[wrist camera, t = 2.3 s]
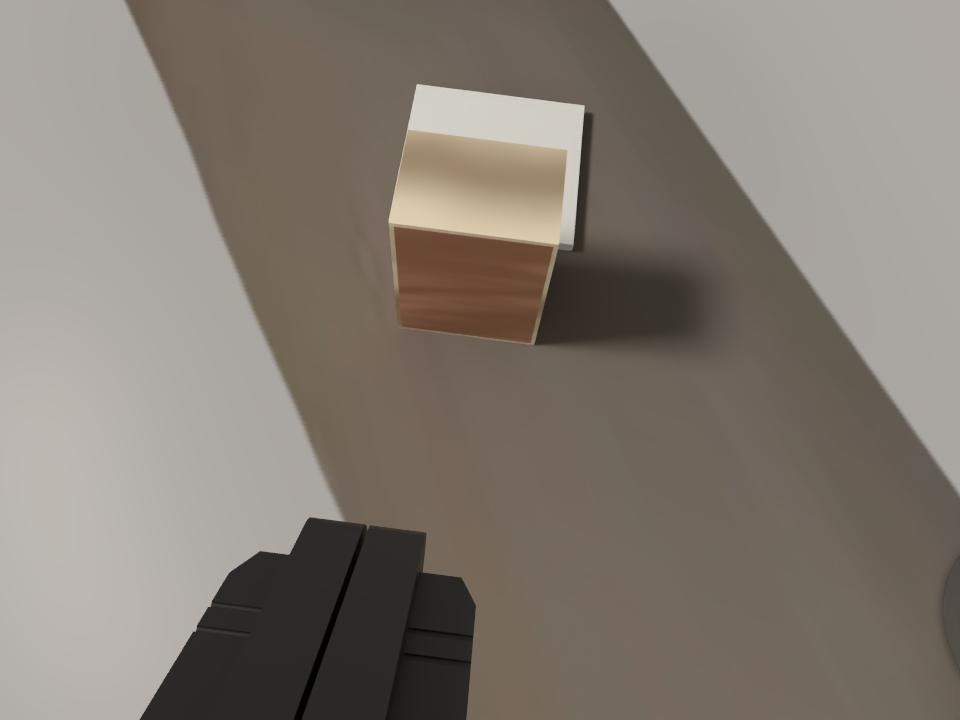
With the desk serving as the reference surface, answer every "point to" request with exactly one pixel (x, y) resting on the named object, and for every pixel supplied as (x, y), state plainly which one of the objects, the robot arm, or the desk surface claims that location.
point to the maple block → (475, 235)
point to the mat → (507, 130)
